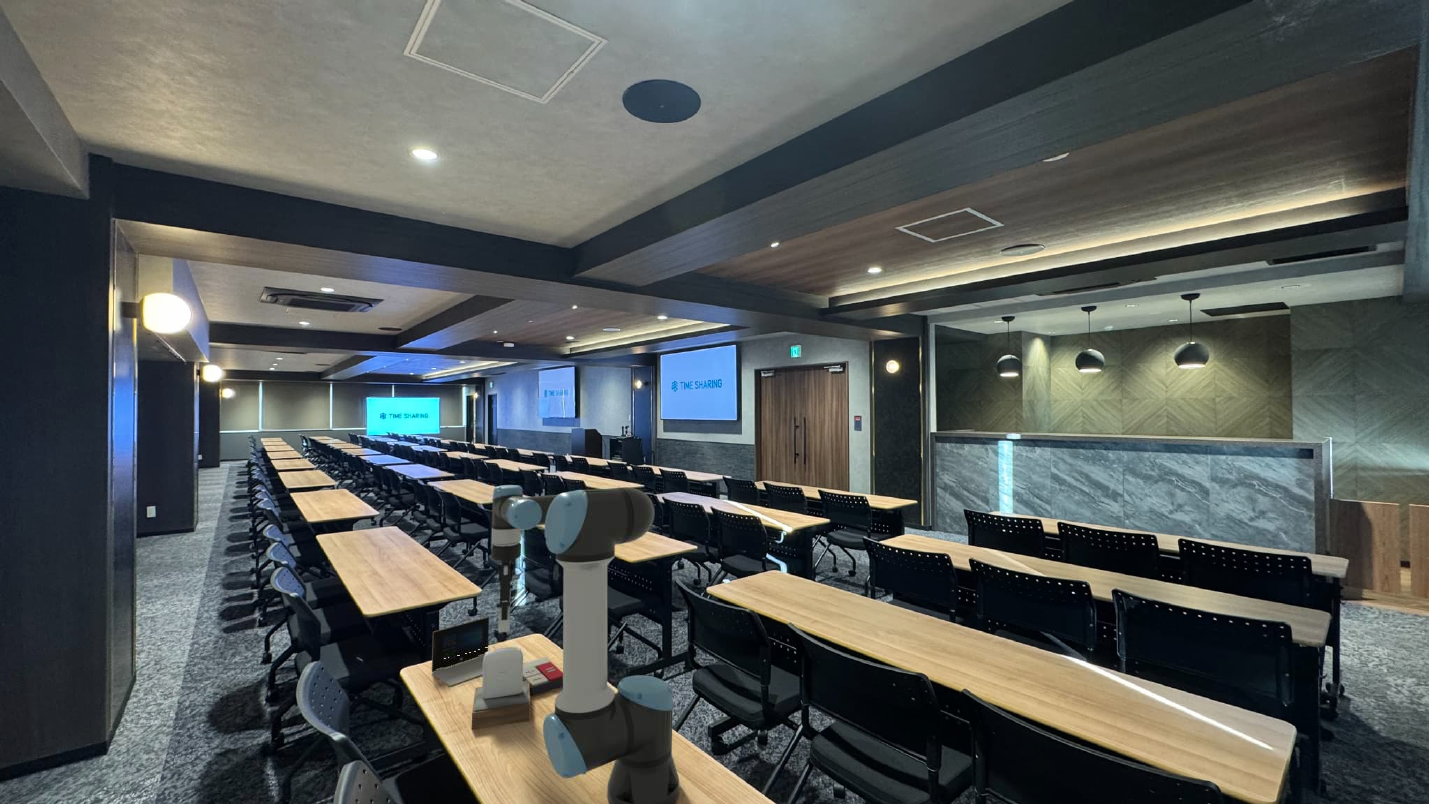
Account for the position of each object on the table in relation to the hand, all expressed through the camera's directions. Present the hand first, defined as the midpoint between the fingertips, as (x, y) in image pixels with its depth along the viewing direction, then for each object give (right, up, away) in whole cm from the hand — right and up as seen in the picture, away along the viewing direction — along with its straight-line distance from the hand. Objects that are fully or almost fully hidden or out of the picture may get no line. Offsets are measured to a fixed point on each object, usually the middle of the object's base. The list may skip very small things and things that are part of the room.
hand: (504, 622), depth 151 cm
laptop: (-19, -24, +23) cm, 39 cm away
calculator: (+4, -25, +16) cm, 30 cm away
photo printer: (-1, -20, 0) cm, 20 cm away
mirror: (0, -24, -1) cm, 24 cm away
